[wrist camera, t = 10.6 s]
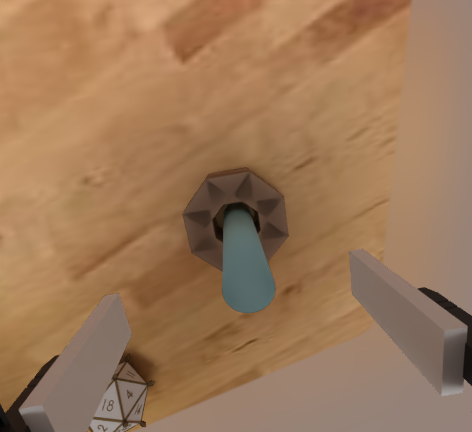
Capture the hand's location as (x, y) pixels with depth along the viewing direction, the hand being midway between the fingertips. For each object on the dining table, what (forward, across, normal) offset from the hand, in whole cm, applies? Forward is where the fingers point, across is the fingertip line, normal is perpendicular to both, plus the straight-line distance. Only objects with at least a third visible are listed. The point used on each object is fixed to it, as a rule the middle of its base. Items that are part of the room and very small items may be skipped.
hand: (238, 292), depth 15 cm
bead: (+16, +1, 0) cm, 16 cm away
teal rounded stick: (+16, +1, 0) cm, 16 cm away
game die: (+17, -17, -19) cm, 31 cm away
